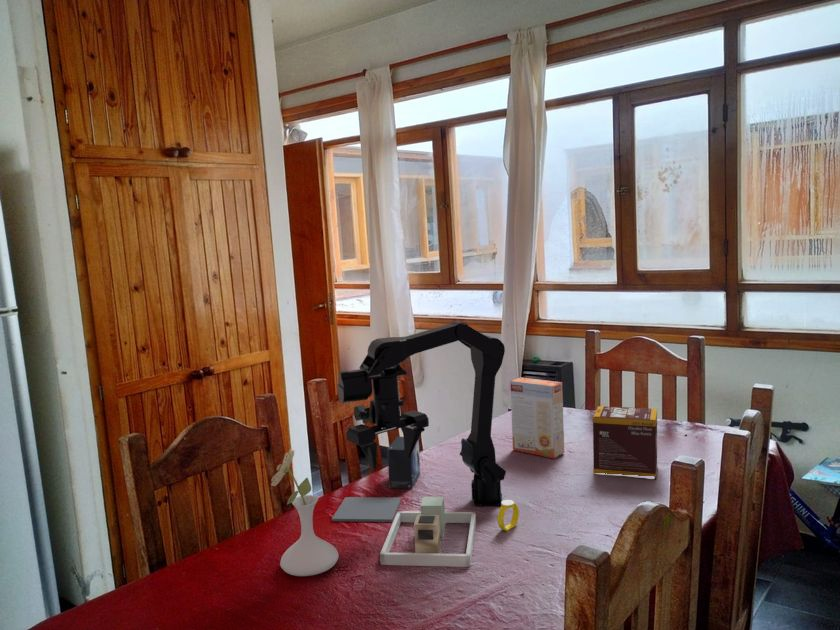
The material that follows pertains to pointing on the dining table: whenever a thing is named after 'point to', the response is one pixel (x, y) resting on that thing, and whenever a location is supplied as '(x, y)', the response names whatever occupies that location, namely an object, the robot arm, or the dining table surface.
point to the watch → (505, 505)
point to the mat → (367, 509)
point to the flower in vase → (304, 532)
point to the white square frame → (428, 558)
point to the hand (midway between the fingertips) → (391, 464)
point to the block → (434, 510)
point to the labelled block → (427, 534)
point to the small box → (403, 465)
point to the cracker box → (537, 416)
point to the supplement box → (625, 441)
